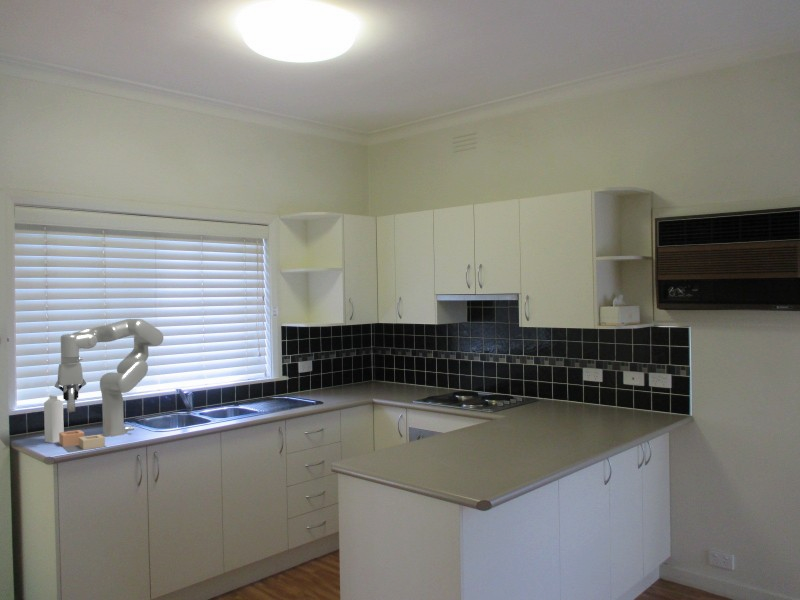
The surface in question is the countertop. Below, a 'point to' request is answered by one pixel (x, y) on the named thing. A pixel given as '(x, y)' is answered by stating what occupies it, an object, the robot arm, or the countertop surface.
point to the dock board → (80, 441)
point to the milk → (53, 419)
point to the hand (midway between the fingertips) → (70, 399)
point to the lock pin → (71, 398)
